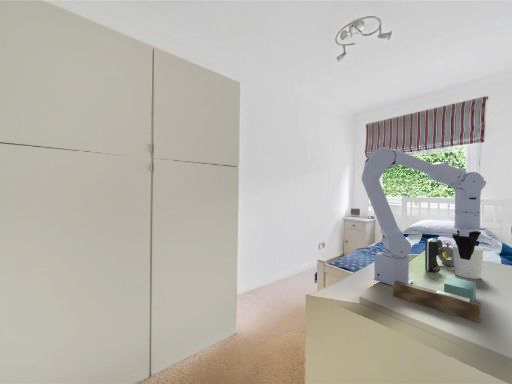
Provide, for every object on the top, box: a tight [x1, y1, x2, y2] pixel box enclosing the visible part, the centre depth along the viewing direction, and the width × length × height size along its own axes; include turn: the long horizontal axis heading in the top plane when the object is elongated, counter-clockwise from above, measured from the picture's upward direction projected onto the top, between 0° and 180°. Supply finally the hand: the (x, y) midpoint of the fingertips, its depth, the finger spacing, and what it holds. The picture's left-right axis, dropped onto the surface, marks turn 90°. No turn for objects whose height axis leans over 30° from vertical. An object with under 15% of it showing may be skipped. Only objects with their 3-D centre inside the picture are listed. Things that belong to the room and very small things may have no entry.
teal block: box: [443, 276, 477, 301], centre depth 66 cm, size 6×7×4 cm
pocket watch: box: [437, 240, 455, 267], centre depth 92 cm, size 8×8×10 cm
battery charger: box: [424, 238, 444, 273], centre depth 87 cm, size 7×4×11 cm, turn 127°
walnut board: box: [393, 280, 482, 323], centre depth 62 cm, size 18×2×4 cm, turn 42°
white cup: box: [452, 243, 484, 280], centre depth 82 cm, size 8×8×10 cm
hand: (466, 256), depth 72 cm, fingers open, 7 cm apart
